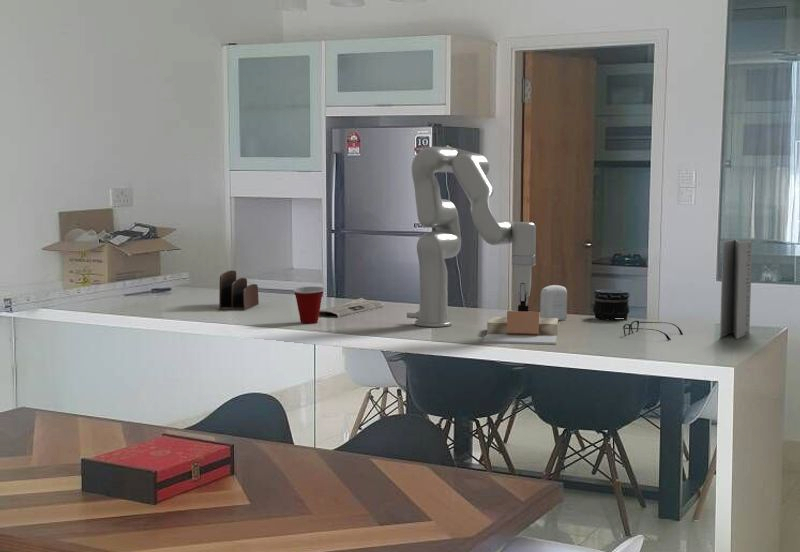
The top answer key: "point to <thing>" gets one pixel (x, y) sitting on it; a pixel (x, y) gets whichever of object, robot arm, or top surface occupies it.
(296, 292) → the plastic cup
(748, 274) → the brochure
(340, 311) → the newspaper
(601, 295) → the container
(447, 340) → the top surface
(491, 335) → the mat
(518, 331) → the tile
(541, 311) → the photo printer
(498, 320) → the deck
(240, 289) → the letter holder
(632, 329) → the eyeglasses
